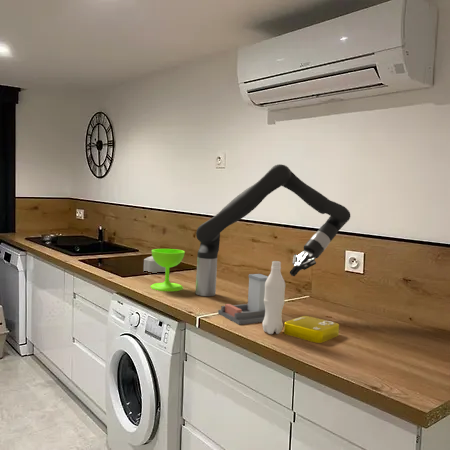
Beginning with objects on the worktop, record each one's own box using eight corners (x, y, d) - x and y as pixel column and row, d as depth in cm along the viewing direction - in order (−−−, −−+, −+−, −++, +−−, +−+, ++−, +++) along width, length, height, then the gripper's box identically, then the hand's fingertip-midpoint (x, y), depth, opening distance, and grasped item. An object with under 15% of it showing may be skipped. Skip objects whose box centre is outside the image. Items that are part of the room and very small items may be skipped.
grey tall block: (246, 309, 190) (248, 274, 189) (258, 308, 193) (260, 273, 192) (258, 314, 183) (260, 278, 182) (269, 313, 185) (272, 277, 184)
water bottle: (266, 335, 163) (270, 263, 161) (259, 329, 169) (263, 259, 168) (285, 335, 164) (290, 263, 163) (277, 328, 171) (282, 260, 169)
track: (218, 313, 188) (218, 302, 188) (256, 309, 197) (257, 299, 197) (238, 324, 174) (239, 312, 174) (279, 320, 183) (279, 308, 183)
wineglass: (167, 293, 220) (168, 254, 218) (143, 287, 229) (144, 250, 228) (190, 288, 232) (191, 251, 231) (166, 283, 242) (167, 247, 241)
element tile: (303, 326, 178) (304, 313, 178) (340, 335, 168) (341, 322, 168) (281, 334, 167) (282, 320, 166) (319, 345, 157) (320, 330, 157)
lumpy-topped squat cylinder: (141, 271, 272) (141, 256, 271) (159, 269, 281) (160, 254, 280) (152, 274, 265) (152, 258, 264) (170, 272, 274) (171, 257, 273)
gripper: (302, 236, 204) (277, 265, 198) (323, 240, 192) (297, 271, 187) (311, 248, 207) (286, 277, 201) (332, 252, 195) (306, 284, 190)
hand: (291, 274), depth 194 cm, fingers closed
